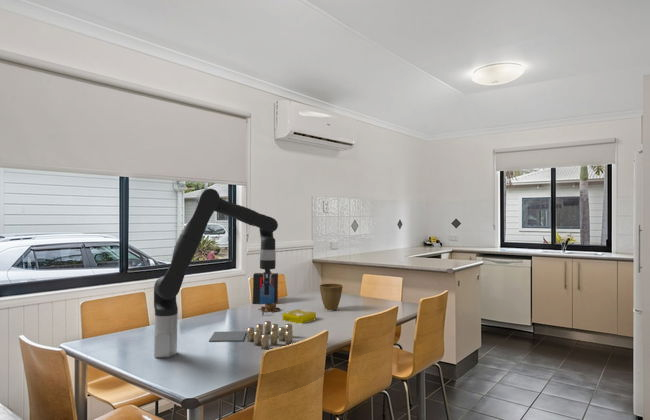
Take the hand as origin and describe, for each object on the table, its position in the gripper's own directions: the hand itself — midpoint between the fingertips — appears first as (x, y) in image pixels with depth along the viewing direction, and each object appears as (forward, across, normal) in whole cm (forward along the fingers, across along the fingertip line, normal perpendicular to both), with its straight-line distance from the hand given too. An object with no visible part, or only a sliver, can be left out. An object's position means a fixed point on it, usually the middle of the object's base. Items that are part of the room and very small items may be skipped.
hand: (267, 293), depth 207 cm
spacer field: (+23, 0, -2) cm, 23 cm away
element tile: (+23, +43, -17) cm, 51 cm away
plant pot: (+22, +68, -38) cm, 81 cm away
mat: (+23, +7, +19) cm, 30 cm away
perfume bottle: (+4, 0, 0) cm, 4 cm away
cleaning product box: (+23, +92, +5) cm, 95 cm away
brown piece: (+23, +64, +3) cm, 68 cm away
